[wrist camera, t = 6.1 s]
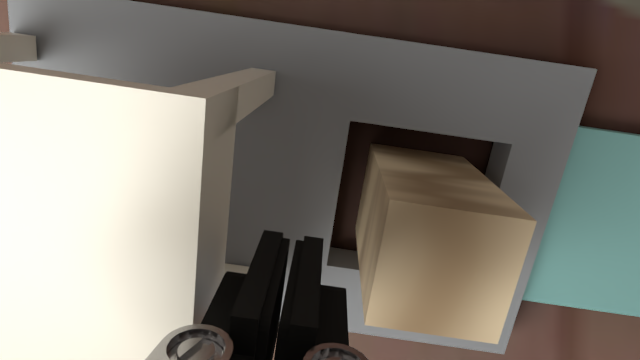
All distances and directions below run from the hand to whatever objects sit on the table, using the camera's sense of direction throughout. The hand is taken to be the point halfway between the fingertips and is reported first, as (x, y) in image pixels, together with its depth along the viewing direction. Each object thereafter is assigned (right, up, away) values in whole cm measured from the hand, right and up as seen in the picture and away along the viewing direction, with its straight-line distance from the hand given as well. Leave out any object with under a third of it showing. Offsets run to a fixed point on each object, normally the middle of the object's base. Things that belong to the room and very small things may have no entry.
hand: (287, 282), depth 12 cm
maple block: (+5, +2, +9) cm, 11 cm away
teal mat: (+16, +1, +9) cm, 19 cm away
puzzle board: (-1, +3, +9) cm, 10 cm away
